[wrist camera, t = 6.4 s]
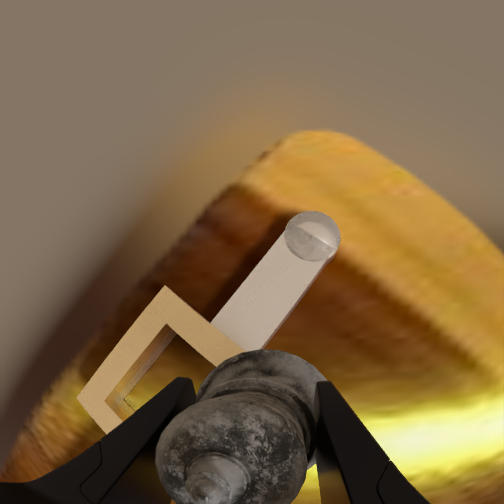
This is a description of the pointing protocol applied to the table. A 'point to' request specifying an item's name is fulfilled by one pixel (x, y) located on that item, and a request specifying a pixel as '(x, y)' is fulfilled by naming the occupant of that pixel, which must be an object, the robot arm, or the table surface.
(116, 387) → the square wooden loop
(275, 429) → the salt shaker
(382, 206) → the table surface
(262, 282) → the cream handled frame
